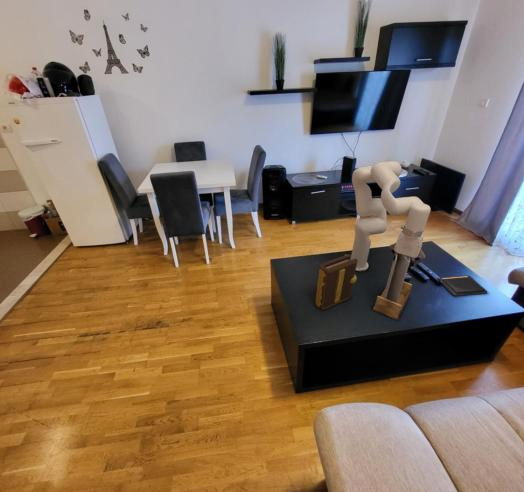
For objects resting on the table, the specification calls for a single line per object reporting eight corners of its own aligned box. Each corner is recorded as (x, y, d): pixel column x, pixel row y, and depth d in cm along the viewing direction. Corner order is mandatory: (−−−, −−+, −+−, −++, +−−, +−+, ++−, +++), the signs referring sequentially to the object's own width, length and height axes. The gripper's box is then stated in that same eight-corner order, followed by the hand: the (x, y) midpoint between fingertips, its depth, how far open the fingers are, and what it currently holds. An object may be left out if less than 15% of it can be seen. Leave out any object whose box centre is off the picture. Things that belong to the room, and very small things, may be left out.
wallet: (454, 293, 147) (437, 276, 160) (452, 296, 148) (436, 278, 161) (490, 291, 148) (470, 274, 161) (488, 294, 149) (469, 276, 162)
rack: (372, 309, 142) (376, 296, 137) (385, 289, 155) (389, 276, 149) (397, 320, 136) (402, 306, 130) (408, 297, 148) (413, 284, 143)
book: (322, 312, 141) (327, 273, 127) (312, 301, 147) (316, 263, 133) (355, 297, 149) (363, 259, 135) (344, 288, 156) (351, 251, 142)
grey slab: (394, 311, 138) (409, 262, 122) (382, 308, 141) (395, 260, 124) (396, 294, 149) (410, 246, 133) (385, 291, 151) (397, 244, 135)
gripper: (390, 229, 123) (381, 262, 133) (433, 241, 114) (420, 275, 124) (395, 222, 128) (386, 254, 138) (436, 233, 119) (424, 267, 129)
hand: (402, 264), depth 131 cm, fingers open, 6 cm apart
